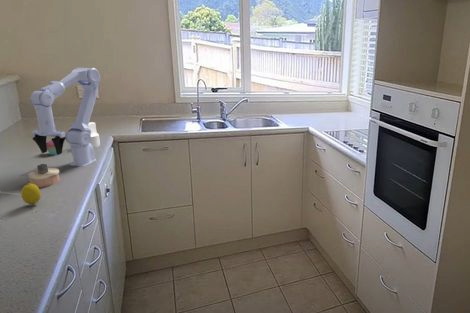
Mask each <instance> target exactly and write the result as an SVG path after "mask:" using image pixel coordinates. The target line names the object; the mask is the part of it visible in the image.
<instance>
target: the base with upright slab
mask: <svg viewBox="0 0 470 313" xmlns="http://www.w3.org/2000/svg"><path fill="white" fill-rule="evenodd" d="M88 127H89V128H90V130H91V140H90V143H91V144H92V146H93V148H94V149H95V148H97V147H100V146H101V141H100V135H99V133H98V132H97V125H96V122H93V121H91V122H90V121H89V124H88Z"/></svg>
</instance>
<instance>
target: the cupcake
mask: <svg viewBox="0 0 470 313" xmlns="http://www.w3.org/2000/svg"><path fill="white" fill-rule="evenodd" d="M46 145H47V152H48V153H49V155H51V156H58V155H60V154H57V153H56V149H55V146H54V143H53V142H52V140H51V139H50V140H49V141H46Z"/></svg>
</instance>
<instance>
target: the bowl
mask: <svg viewBox="0 0 470 313" xmlns="http://www.w3.org/2000/svg"><path fill="white" fill-rule="evenodd" d="M59 174H60V173H59ZM59 174H58V175H56V176H54V177H51V178H48V179H42V180H31V179H29V178H28V180H29V183H30V184H35V185H36V186H37V187H38V188H43V187H48V186H52V185H55V184H56V183H58V182H59V181H60V175H59Z"/></svg>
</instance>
